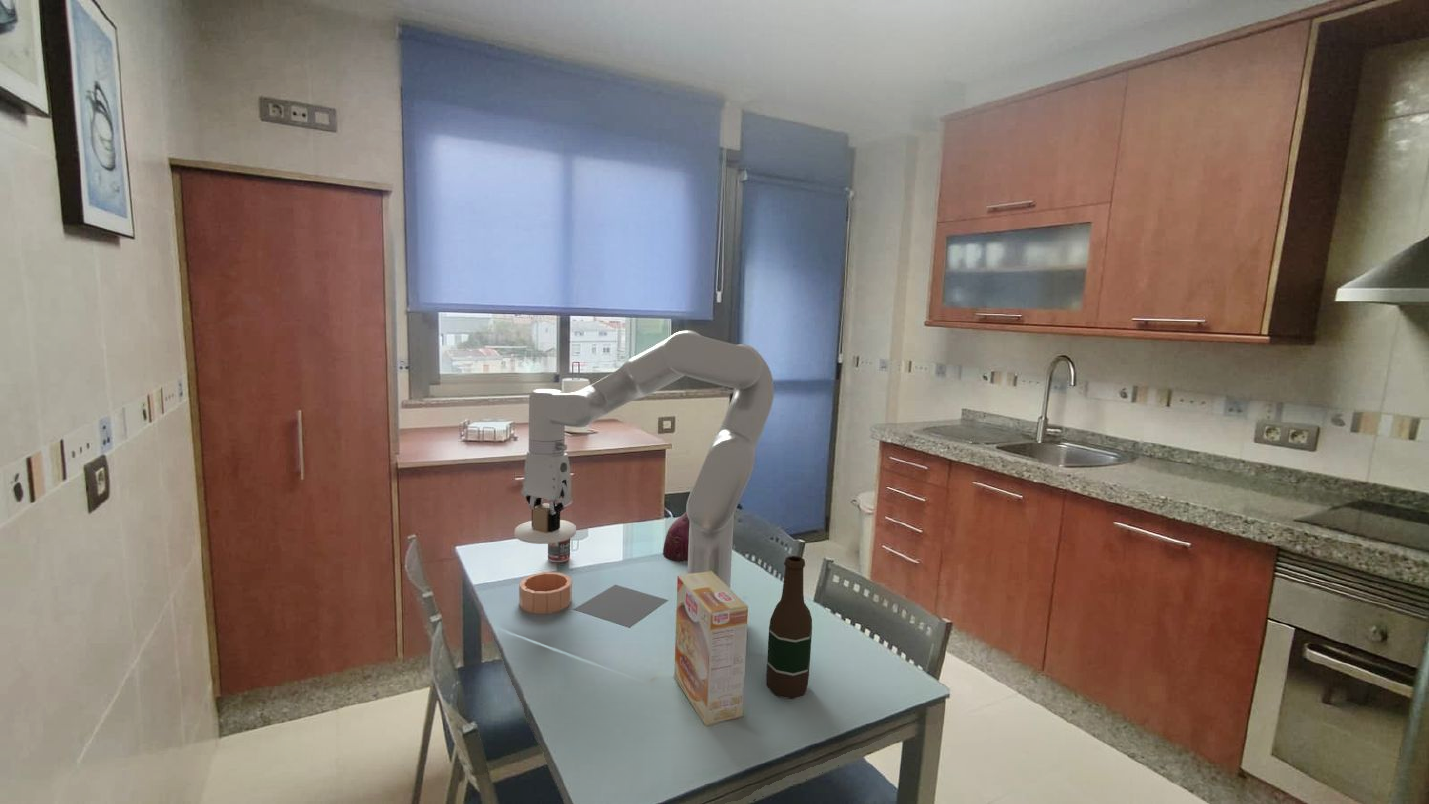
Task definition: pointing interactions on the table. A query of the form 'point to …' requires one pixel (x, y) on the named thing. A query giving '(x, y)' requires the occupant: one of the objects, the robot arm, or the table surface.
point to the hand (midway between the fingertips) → (545, 527)
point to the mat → (621, 605)
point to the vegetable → (677, 540)
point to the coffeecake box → (710, 646)
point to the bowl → (545, 592)
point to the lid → (543, 528)
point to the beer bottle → (790, 636)
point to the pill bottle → (559, 551)
